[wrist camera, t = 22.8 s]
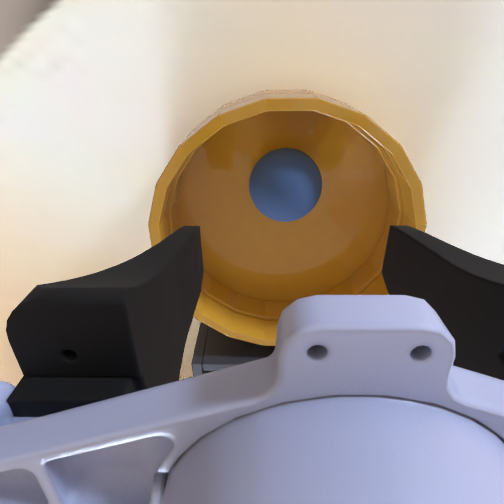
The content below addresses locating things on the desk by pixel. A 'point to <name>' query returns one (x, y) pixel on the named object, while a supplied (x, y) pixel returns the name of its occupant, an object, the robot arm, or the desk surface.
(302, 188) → the slate-blue ball
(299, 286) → the bowl
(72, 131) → the desk surface
